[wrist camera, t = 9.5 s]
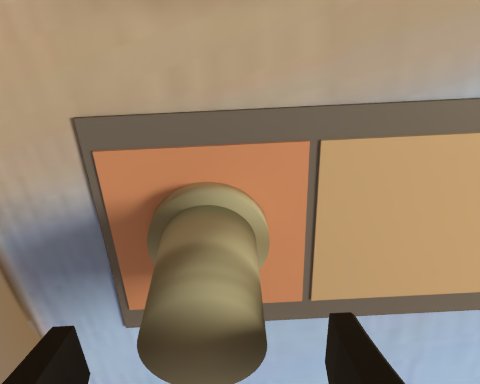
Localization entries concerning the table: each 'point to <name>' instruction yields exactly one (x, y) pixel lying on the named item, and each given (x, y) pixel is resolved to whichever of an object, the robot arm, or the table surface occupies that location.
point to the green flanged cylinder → (205, 286)
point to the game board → (308, 199)
